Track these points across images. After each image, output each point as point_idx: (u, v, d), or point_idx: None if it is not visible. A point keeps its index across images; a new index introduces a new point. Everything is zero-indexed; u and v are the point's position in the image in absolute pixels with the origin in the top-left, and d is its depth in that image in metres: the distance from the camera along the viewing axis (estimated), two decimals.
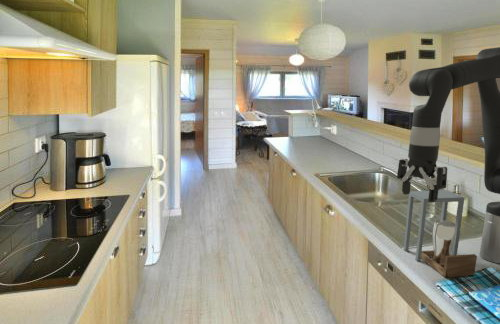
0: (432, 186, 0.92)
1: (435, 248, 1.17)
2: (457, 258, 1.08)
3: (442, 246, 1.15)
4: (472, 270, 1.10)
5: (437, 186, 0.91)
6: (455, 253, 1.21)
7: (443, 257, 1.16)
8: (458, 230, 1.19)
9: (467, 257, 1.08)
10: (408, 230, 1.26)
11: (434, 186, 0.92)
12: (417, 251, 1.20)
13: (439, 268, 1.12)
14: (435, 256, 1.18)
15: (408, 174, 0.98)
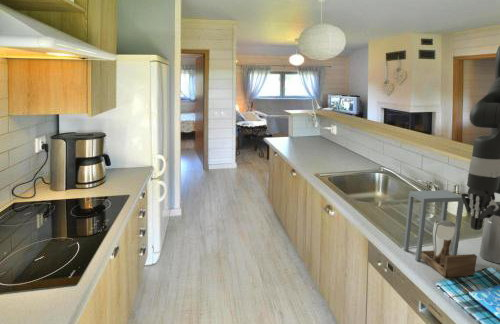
0: None
1: (435, 248, 1.17)
2: (457, 258, 1.08)
3: (442, 246, 1.15)
4: (472, 270, 1.10)
5: None
6: (455, 253, 1.21)
7: (443, 257, 1.16)
8: (458, 230, 1.19)
9: (467, 257, 1.08)
10: (408, 230, 1.26)
11: None
12: (417, 251, 1.20)
13: (439, 268, 1.12)
14: (435, 256, 1.18)
15: None
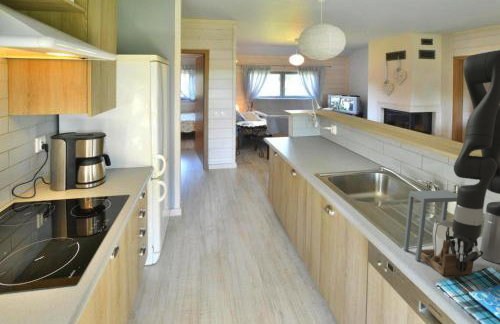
0: None
1: (435, 248, 1.17)
2: (455, 256, 1.09)
3: (442, 246, 1.15)
4: (470, 268, 1.11)
5: None
6: None
7: None
8: None
9: None
10: (408, 230, 1.26)
11: None
12: (417, 251, 1.20)
13: (437, 266, 1.13)
14: (435, 256, 1.18)
15: None
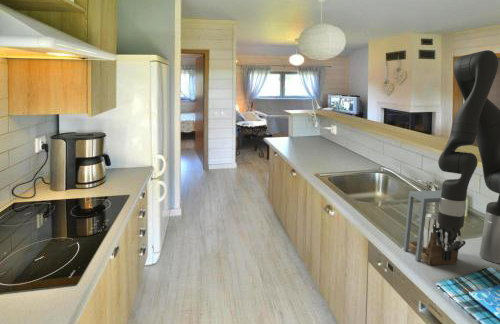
0: None
1: (423, 240, 1.24)
2: (440, 247, 1.16)
3: (430, 238, 1.21)
4: (455, 258, 1.17)
5: None
6: None
7: None
8: None
9: None
10: (408, 230, 1.26)
11: None
12: (417, 251, 1.20)
13: (424, 257, 1.20)
14: (423, 247, 1.24)
15: None
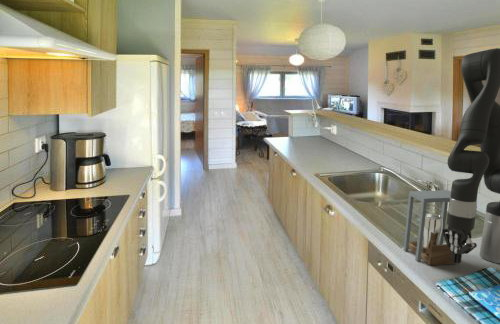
0: None
1: (423, 240, 1.24)
2: (441, 247, 1.16)
3: (430, 238, 1.21)
4: None
5: None
6: None
7: None
8: None
9: None
10: (408, 230, 1.26)
11: None
12: (417, 251, 1.20)
13: (424, 257, 1.20)
14: (423, 247, 1.24)
15: None
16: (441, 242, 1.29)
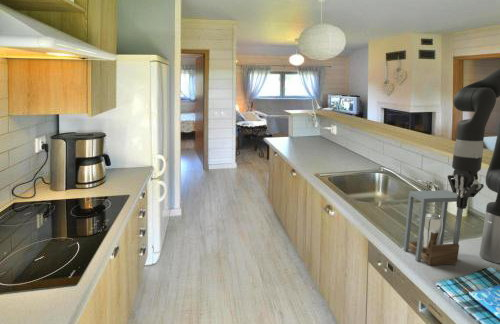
0: None
1: (423, 240, 1.24)
2: (441, 247, 1.16)
3: (430, 238, 1.21)
4: (455, 258, 1.17)
5: None
6: None
7: None
8: (458, 230, 1.19)
9: (450, 246, 1.16)
10: (408, 230, 1.26)
11: None
12: (417, 251, 1.20)
13: (424, 257, 1.20)
14: (423, 247, 1.24)
15: None
16: (441, 242, 1.29)
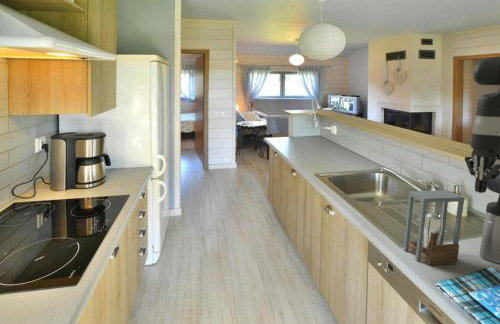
0: None
1: (423, 240, 1.24)
2: (441, 247, 1.16)
3: (430, 238, 1.21)
4: (455, 258, 1.17)
5: None
6: None
7: None
8: (458, 230, 1.19)
9: (450, 246, 1.16)
10: (408, 230, 1.26)
11: None
12: (417, 251, 1.20)
13: (424, 257, 1.20)
14: (423, 247, 1.24)
15: None
16: (441, 242, 1.29)
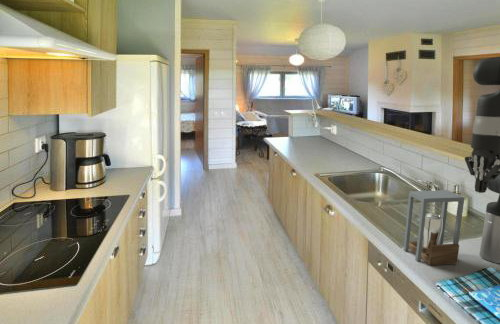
0: None
1: (423, 240, 1.24)
2: (441, 247, 1.16)
3: (430, 238, 1.21)
4: (455, 258, 1.17)
5: None
6: None
7: None
8: (458, 230, 1.19)
9: (450, 246, 1.16)
10: (408, 230, 1.26)
11: None
12: (417, 251, 1.20)
13: (424, 257, 1.20)
14: (423, 247, 1.24)
15: None
16: (441, 242, 1.29)
